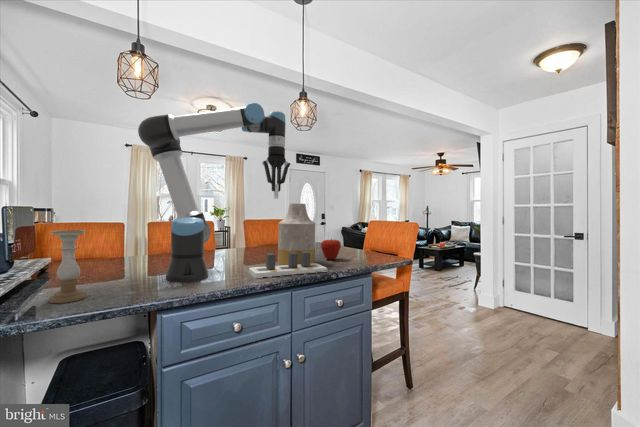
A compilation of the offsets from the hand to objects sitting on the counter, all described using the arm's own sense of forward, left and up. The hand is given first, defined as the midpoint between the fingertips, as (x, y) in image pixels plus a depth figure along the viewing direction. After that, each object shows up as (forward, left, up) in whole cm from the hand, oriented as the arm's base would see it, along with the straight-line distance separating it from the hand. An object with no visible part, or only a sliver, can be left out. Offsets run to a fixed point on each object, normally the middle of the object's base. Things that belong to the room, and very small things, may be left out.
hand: (275, 198), depth 136 cm
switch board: (+9, -4, -32) cm, 34 cm away
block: (+3, -10, -30) cm, 32 cm away
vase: (+4, +15, -33) cm, 36 cm away
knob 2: (+10, -3, -30) cm, 32 cm away
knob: (+15, +2, -30) cm, 33 cm away
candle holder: (-34, -64, -33) cm, 79 cm away
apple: (+16, +34, -33) cm, 50 cm away
